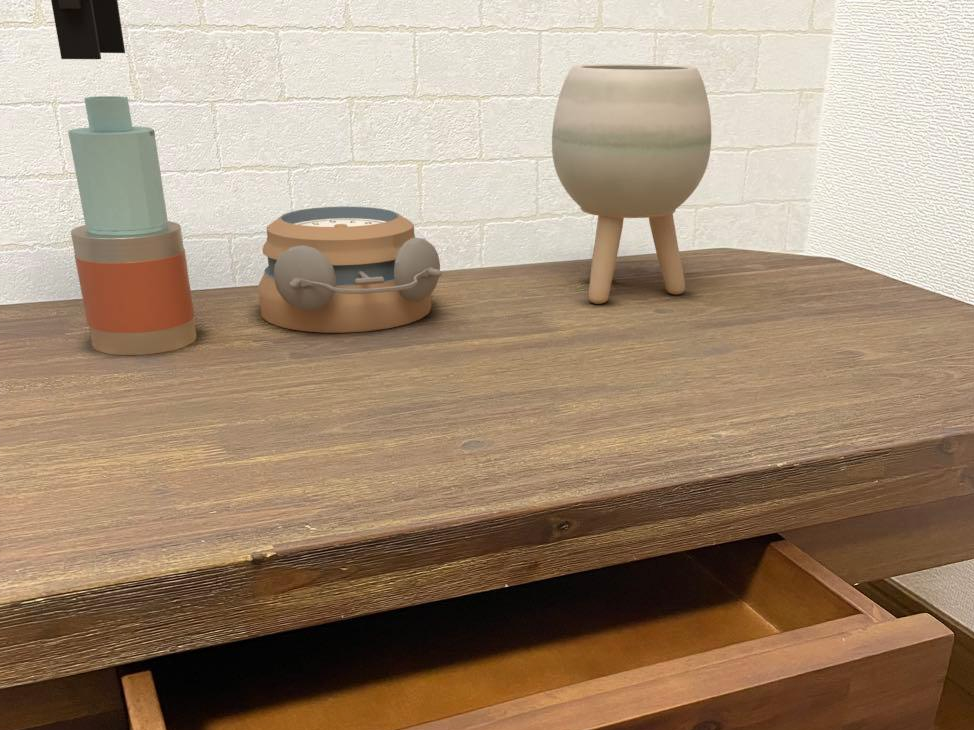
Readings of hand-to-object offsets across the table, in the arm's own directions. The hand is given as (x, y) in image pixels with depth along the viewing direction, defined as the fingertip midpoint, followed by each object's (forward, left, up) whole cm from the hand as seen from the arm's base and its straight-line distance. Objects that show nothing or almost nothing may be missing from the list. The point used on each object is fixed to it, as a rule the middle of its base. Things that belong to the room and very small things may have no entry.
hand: (95, 56), depth 84 cm
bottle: (0, 0, -14) cm, 14 cm away
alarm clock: (+18, +8, -24) cm, 31 cm away
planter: (+46, +18, -24) cm, 55 cm away
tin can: (0, 0, -24) cm, 24 cm away
